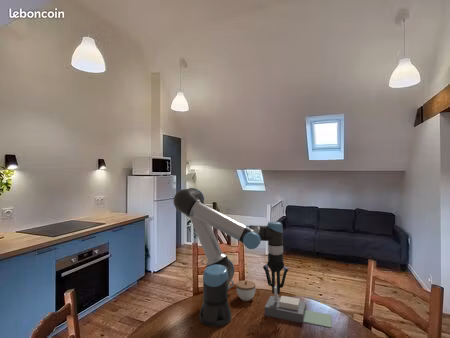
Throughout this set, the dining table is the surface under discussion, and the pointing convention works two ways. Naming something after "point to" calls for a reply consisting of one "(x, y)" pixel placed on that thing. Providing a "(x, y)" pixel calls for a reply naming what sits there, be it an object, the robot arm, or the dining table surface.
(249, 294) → the lidded jar
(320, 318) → the mat
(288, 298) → the tile
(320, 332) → the dining table surface
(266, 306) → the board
